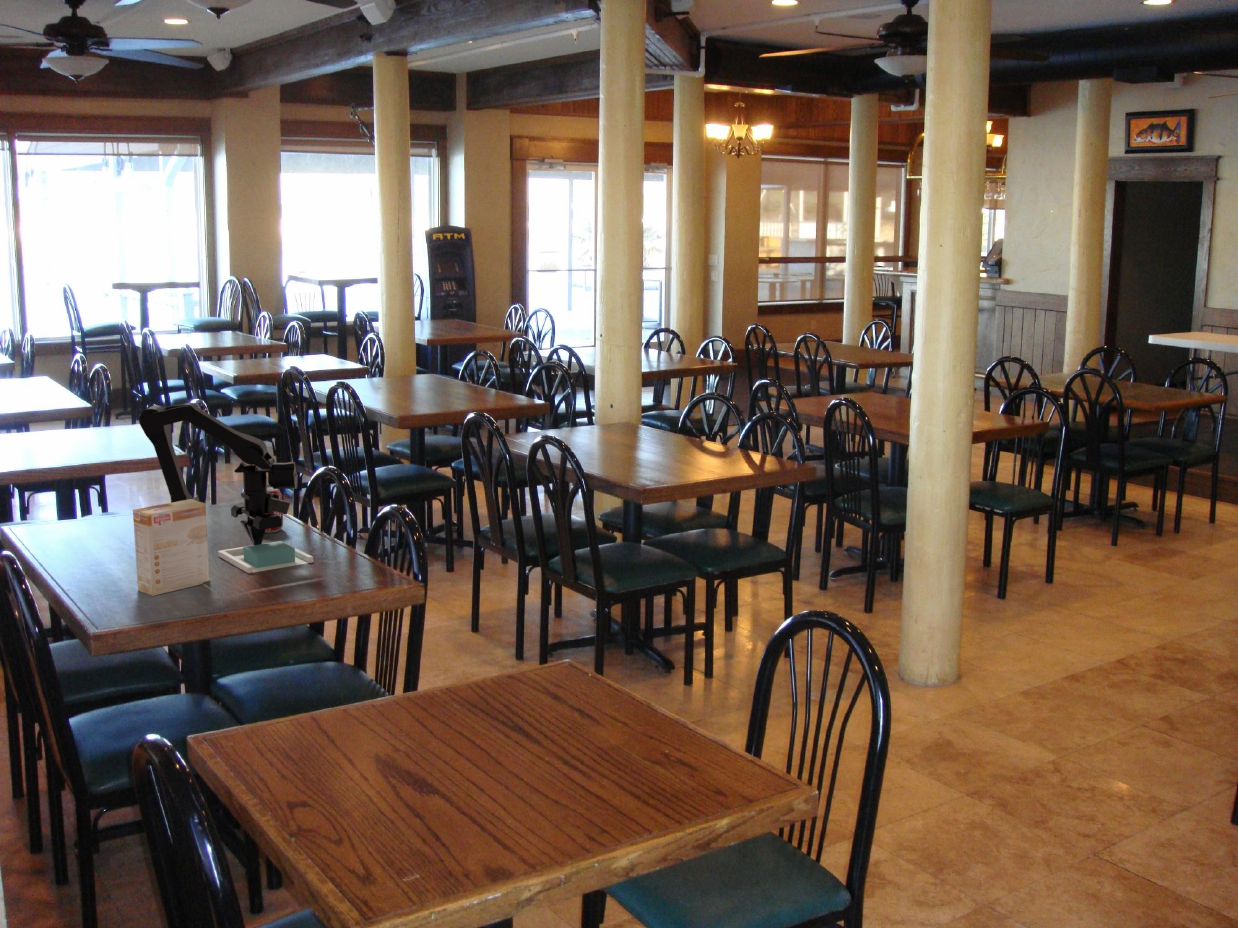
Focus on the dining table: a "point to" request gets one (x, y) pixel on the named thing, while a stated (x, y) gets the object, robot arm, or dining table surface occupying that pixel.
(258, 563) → the teal rectangular block
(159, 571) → the coffeecake box
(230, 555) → the tray
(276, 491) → the soda can
